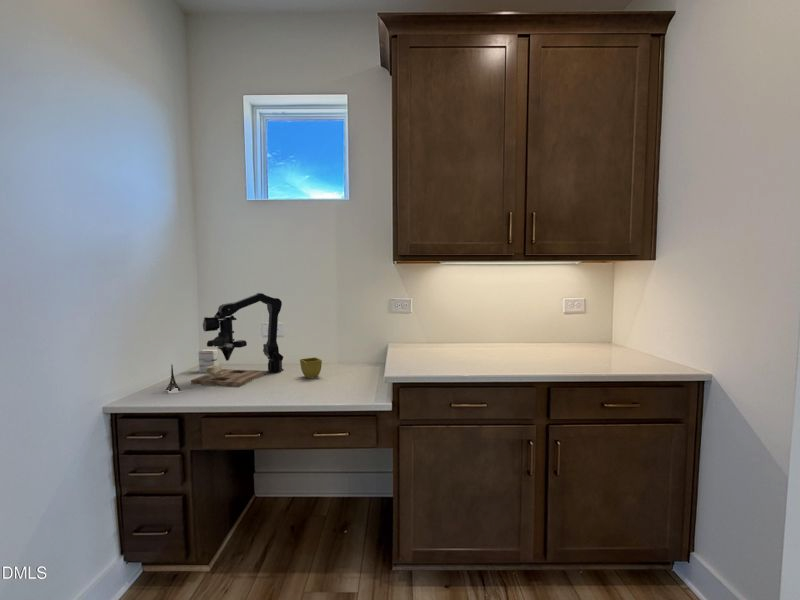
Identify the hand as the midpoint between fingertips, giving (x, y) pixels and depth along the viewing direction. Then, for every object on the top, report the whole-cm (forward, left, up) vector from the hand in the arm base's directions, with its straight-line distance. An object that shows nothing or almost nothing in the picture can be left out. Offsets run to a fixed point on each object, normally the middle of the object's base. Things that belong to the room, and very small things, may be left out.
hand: (227, 360), depth 207 cm
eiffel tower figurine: (+14, +22, -10) cm, 28 cm away
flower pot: (-40, -11, -10) cm, 42 cm away
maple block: (+8, 0, -8) cm, 11 cm away
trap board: (-1, 0, -10) cm, 10 cm away
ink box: (+20, -13, -10) cm, 26 cm away
